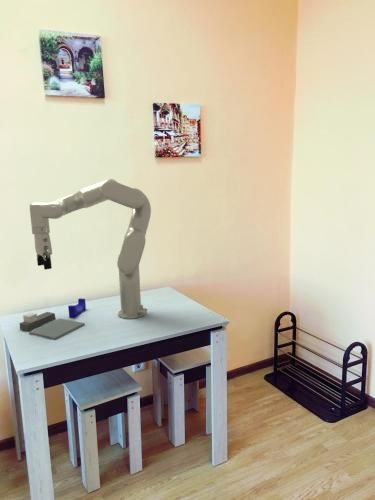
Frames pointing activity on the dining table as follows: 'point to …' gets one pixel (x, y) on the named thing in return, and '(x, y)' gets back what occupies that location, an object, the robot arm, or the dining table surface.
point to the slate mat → (57, 328)
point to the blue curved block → (77, 308)
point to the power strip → (36, 320)
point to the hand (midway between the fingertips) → (44, 267)
